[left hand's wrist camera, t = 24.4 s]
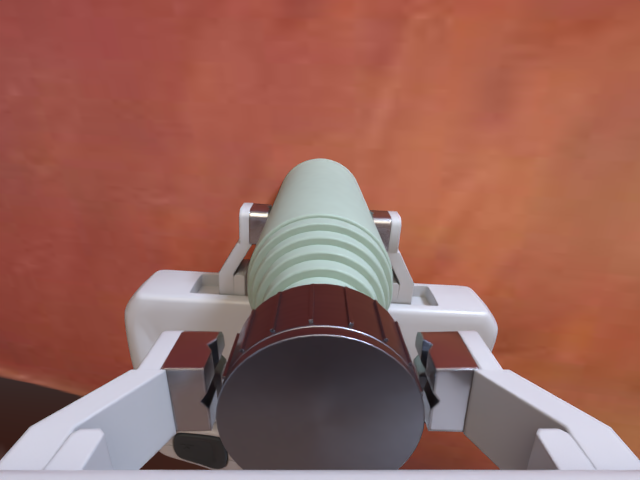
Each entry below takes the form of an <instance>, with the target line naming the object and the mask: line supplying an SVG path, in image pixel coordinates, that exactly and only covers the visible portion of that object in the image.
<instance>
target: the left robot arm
mask: <svg viewBox="0 0 640 480" xmlns="http://www.w3.org/2000/svg"><path fill="white" fill-rule="evenodd" d="M224 347H225V342H224V335H223V333H222V331H164V332H162V333H161V335H160V336H159V338H158V339H157V341H156V342H155V344H154V345H153V347H152V348H151V350H150V351H149V353H148V354H147V355H146V357H145V358H144V360H143V361H142V363H141V364H140V366H139V367H138V369H137V370H130V371H128V372H126V373H124V374H123V375H121V376H119V377H117V378H115V379H114V380H112V381H110V382H108V383H107V384H105V385H103V386H101V387H100V388H98V389H96V390H94V391H92V392H91V393H89V394H87V395H85V396H84V397H82V398H80V399H78V400H77V401H75V402H73V403H71V404H69V405H68V406H66V407H64V408H62V409H61V410H59V411H57V412H55V413H54V414H52V415H50V416H48V417H46V418H45V419H43V420H41V421H39V422H38V423H36V424H34V425H32V426H31V427H29V429H28V430H27V431H26V432H25V433H24V434H23V435H22V436H21V438H20V439H19V440H18V441H17V442H16V443H15V444H14V446H13V447H12V448H11V449H10V450H9V451H8V452H7V453H6V455H5V456H4V457H3V458H2V459H1V460H0V480H640V460H639V459H638V458H637V457H636V456H635V455H634V453H633V452H632V451H631V450H630V449H629V448H628V447H627V445H626V444H625V443H624V442H623V441H622V440H621V439H620V437H619V436H618V435H617V434H616V433H615V432H614V431H613V429H612V428H611V427H609V426H607V425H606V424H604V423H602V422H600V421H599V420H597V419H595V418H593V417H591V416H590V415H588V414H586V413H584V412H583V411H581V410H579V409H577V408H576V407H574V406H572V405H570V404H569V403H567V402H565V401H563V400H561V399H560V398H558V397H556V396H554V395H553V394H551V393H549V392H547V391H546V390H544V389H542V388H540V387H539V386H537V385H535V384H533V383H531V382H530V381H528V380H526V379H524V378H523V377H521V376H519V375H517V374H516V373H514V372H512V371H510V370H503V369H502V367H501V366H500V365H499V363H498V362H497V360H496V359H495V357H494V356H493V354H492V353H491V351H490V350H489V348H488V347H487V345H486V344H485V343H484V341H483V340H482V338H481V337H480V335H479V334H478V332H476V331H474V330H470V331H446V332H417V335H416V341H415V347H416V350H417V352H418V355H417V356H416V357H415V358H414V360H413V366H414V369H415V372H416V374H417V377H418V380H419V383H420V386H421V389H422V392H423V394H422V397H423V402H424V407H425V422H426V425H427V428H428V431H454V432H464V434H465V435H466V436H467V437H468V438H469V439H470V440H471V441H472V442H473V443H474V444H475V445H476V446H477V447H478V448H479V449H480V450H481V451H482V452H483V453H484V454H485V455H486V456H487V457H488V458H489V459H490V460H492V461H493V462H494V463H495V464H496V465H497V466H498V467H499V468H500V469H501V470H139V469H140V468H141V467H142V466H143V465H144V464H145V463H146V462H148V461H149V460H150V459H151V458H152V457H153V456H154V455H155V454H156V453H157V452H158V451H159V450H160V449H161V448H162V447H163V446H164V445H165V444H166V443H167V442H168V441H169V440H170V439H171V438H172V437H174V436H175V435H176V432H186V431H212V428H213V425H214V422H215V419H216V405H217V401H218V396H219V393H220V390H221V387H222V384H223V381H224V379H222V375H223V373H224V370H225V367H226V364H227V360H226V358H225V357H224V356H223V355H222V352H223V349H224Z"/></svg>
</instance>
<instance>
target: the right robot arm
mask: <svg viewBox="0 0 640 480" xmlns="http://www.w3.org/2000/svg"><path fill="white" fill-rule="evenodd" d="M271 209H272V205H269V204H255V203H244V204H243V205H242V207H241V208H240V214H239V240H238V242H237V243H236V245H235V246H234V248H233V250H232V251H231V253H230V254H229V256H228V258H227V259H226V261H225V263H224V265H223V266H222V268H221V270H220V272H219V273H213V272H195V271H176V270H159V271H157V272H155V273H154V274H153V275H152V276H151V277H150V278H149V279H148V280H147V281H145V282H144V283H143V284H142V285H141V286H140V287H139V288H138V290H137V291H136V292H135V293H134V295H133V296H132V297H131V299H130V300H129V302H128V304H127V306H126V309H125V327H126V334H127V340H128V346H129V351H130V355H131V360H132V364H133V368H134V370H137V369H138V367H139V366H140V364H141V363H142V361H143V360H144V358H145V357H146V355H147V354H148V353H149V351H150V350H151V348H152V347H153V345H154V344H155V342H156V341H157V339H158V338H159V336H160V335H161V333H162V332H164V331H222V333H223V335H224V342H225V347H224V349H223V352H222V355H223V356H224V357H225V358H226V360H227V361H228V358H229V355H230V352H231V349H232V347H233V344H234V341H235V338H236V335H237V333H239V334H240V331H241V329H242V327H243V325H244V323H245V322H246V320H247V318H248V317H249V316H250V315H251V311H252V309H251V306H250V303H249V299H248V294H247V273H248V266H249V262H250V260H248V259H243V258H244V256H245V255H246V253H247V252H248V250H249V248H250V247H251V245H252V244H257V242H258V240H259V237H260V235H261V233H262V230H263V228H264V226H265V223H266V221H267V218H268V216H269V214H270V211H271ZM370 214H371V216H372V218H373V221H374V223H375V225H376V228H377V230H378V232H379V235H380V237H381V239H382V242H383V244H384V246H385V249H386V251H387V253H388V256H389V259H390V262H391V265H392V271H393V294H392V300H391V304H390V307H389V309H388V313H389V314H390V315H391V316H392V318H393V319H394V321H395V322H396V321H397V322H398V323H399V326H400V329H401V332H402V335H403V338H404V341H405V344H406V347H407V348H408V351H409V354H410V357H411V360H412V363H413V360H414V358H415V357H416V356H417V355H418V352H417V350H416V347H415V341H416V335H417V332H446V331H470V330H474V331H476V332H478V334H479V335H480V337H481V338H482V340H483V341H484V343H485V344H486V345H487V347H488V348H489V350H490V351H491V352H492V349H493V346H494V344H495V341H496V337H497V332H498V327H497V323H496V321H495V318H494V317H493V315H492V313H491V312H490V310H489V309H488V307H487V306H486V305H485V303H484V302H483V301H482V300H481V299H480V298H479V297H478V295H477V294H476V293H475V292H474V291H473V290H472V289H471V288H469V287H466V286H454V285H435V284H417V283H414V282H413V280H412V278H411V276H410V274H409V271H408V269H407V267H406V265H405V263H404V260H403V258H402V256H401V254H400V252H399V250H398V246H399V238H400V231H401V217H400V216H399V214H398V213H397V212H395V211H376V210H370ZM424 423H425V424H426V422H425V421H424ZM159 451H160V452H161V453H162V454H164V455H166V456H169V457H172V458H175V459H179V460H182V461H186V462H189V463H193V464H196V465H199V466H202V467H205V468H208V469H211V470H243V469H242V468H241V467H240V466H238V464H237V463H236V462H235V461H234V460H233V459H232V458H231V457H230V455H229V454H228V452H227V451H226V449H225V447H224V445H223V443H222V441H221V439H220V436H219V432H218V429H217V423H216V419H215V422H214V425H213V428H212V431H186V432H176V435H175V436H174V437H172V438H171V439H170V440H169V441H168V442H167V443H166V444H165V445H164V446H163V447H162V448H161V449H160V450H159Z"/></svg>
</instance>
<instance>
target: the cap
mask: <svg viewBox="0 0 640 480" xmlns="http://www.w3.org/2000/svg"><path fill="white" fill-rule="evenodd" d="M222 379H224V381H223V384H222V387H221V390H220V393H219V396H218V401H217V405H216V423H217V429H218V432H219V436H220V439H221V441H222V443H223V445H224V447H225V449H226V451H227V452H228V454H229V455H230V457H231V458H232V459H233V460H234V461H235V462H236V463H237V464H238V466H240V467H241V468H242V469H243V470H398V469H399V468H400V467H401V466H402V465H403V464H404V463H405V462H406V461H407V460H408V458H409V457H410V456H411V455H412V453H413V452H414V450H415V449H416V447H417V445H418V443H419V440H420V438H421V435H422V432H423V428H424V421H425V407H424V402H423V397H422V394H423V392H422V389H421V386H420V383H419V380H418V377H417V374H416V372H415V369H414V366H413V363H412V360H411V357H410V354H409V351H408V348H407V347H406V344H405V341H404V338H403V335H402V332H401V329H400V326H399V323H398V322H397V321H396V322H395V321H394V319H393V318H392V316H391V315H390V314H389V313H388V311H387V310H386V309H384V308H383V307H382V306H381V305H380V304H379V303H378V301H377V300H376V299H375V300H373V299H372V298H371V297H369V296H367V295H365V294H363V293H361V292H359V291H356V290H354V289H351V288H348V287H346V286H345V287H344V286H340V285H333V284H314V283H312V284H308V285H301V286H297V287H293V288H290V289H287V290H284V291H282V292H281V291H280V292H278V293H277V294H276V295H274V296H272V297H270V298H269V299H267V300H266V301H264V302H263V303H261V304H260V305H259V306H258V307H257V308H256V309H253V310H252V311H251V315H250V316H249V317H248V318H247V320H246V322H245V323H244V325H243V327H242V329H241V331H240V334H239V333H237V335H236V338H235V341H234V344H233V347H232V349H231V352H230V355H229V358H228V361H227V364H226V367H225V370H224V373H223V375H222Z"/></svg>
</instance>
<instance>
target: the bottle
mask: <svg viewBox="0 0 640 480" xmlns="http://www.w3.org/2000/svg"><path fill="white" fill-rule="evenodd" d="M312 283H314V284H333V285H340V286H344V287H345V286H346V287H348V288H351V289H354V290H356V291H359V292H361V293H363V294H365V295H367V296H369V297H371V298H372V299H373V300H375V299H376V300H377V301H378V303H379V304H380V305H381V306H382V307H383V308H384V309H386V310H387V311H388V309H389V307H390V304H391V300H392V294H393V271H392V265H391V262H390V259H389V256H388V253H387V251H386V249H385V246H384V244H383V242H382V239H381V237H380V235H379V232H378V230H377V228H376V225H375V223H374V221H373V218H372V216H371V214H370V211H369V209H368V207H367V204H366V202H365V200H364V197H363V195H362V193H361V190H360V188H359V186H358V183H357V181H356V179H355V178H354V176H353V175H352V173H351V172H350V171H349V170H348V169H347V168H345V167H344V166H343V165H341V164H339V163H337V162H335V161H332V160H328V159H312V160H308V161H305V162H302V163H300V164H299V165H297V166H296V167H294V168H293V169H292V170H291V171H290V172H289V173H288V174H287V176H286V177H285V179H284V181H283V183H282V185H281V187H280V190H279V192H278V195H277V197H276V199H275V202H274V204H273V206H272V209H271V211H270V214H269V216H268V218H267V221H266V223H265V226H264V228H263V230H262V233H261V235H260V237H259V240H258V242H257V245H256V247H255V249H254V252H253V254H252V256H251V259H250V262H249V266H248V273H247V294H248V299H249V303H250V306H251V309H252V310H253V309H256V308H257V307H258V306H259V305H260V304H261V303H263V302H264V301H266V300H267V299H269V298H270V297H272V296H274V295H276V294H277V293H278V292H280V291H281V292H282V291H284V290H287V289H290V288H293V287H297V286H301V285H308V284H312Z"/></svg>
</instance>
